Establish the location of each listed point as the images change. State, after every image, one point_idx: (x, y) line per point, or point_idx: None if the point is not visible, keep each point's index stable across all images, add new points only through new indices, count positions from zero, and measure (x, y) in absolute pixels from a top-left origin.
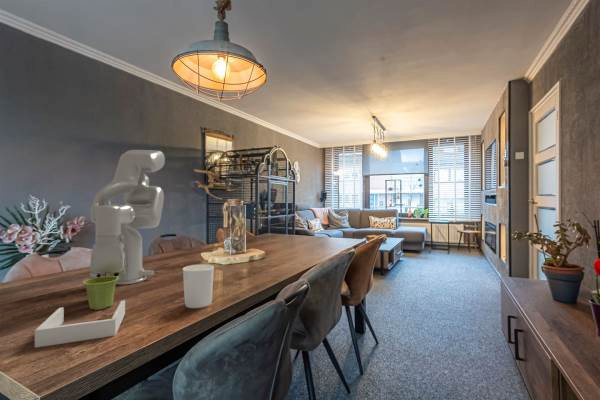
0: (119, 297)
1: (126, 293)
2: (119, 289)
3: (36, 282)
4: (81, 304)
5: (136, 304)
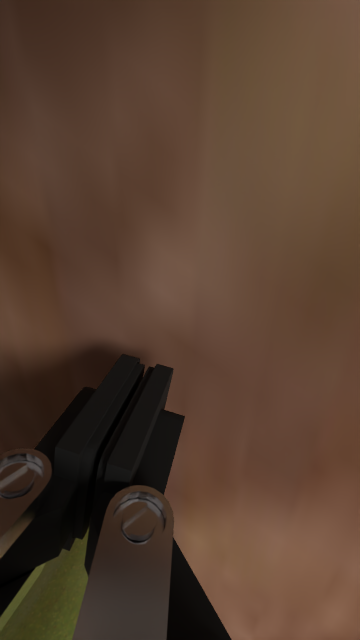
0: (239, 450)
1: (320, 375)
2: (293, 132)
3: None
4: (3, 434)
5: (306, 629)
